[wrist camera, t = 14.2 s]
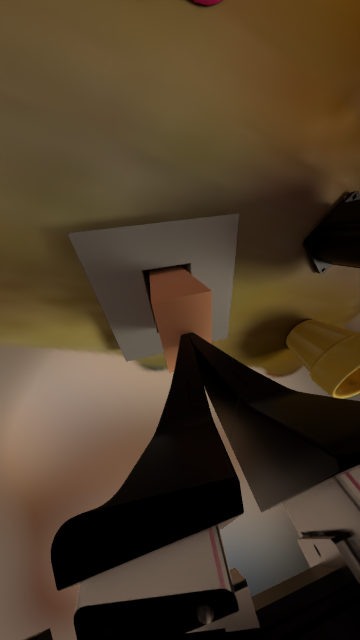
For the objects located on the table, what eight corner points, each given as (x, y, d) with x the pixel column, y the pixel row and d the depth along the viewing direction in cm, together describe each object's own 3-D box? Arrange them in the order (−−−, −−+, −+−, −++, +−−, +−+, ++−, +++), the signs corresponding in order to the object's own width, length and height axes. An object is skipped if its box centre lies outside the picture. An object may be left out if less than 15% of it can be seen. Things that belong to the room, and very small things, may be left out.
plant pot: (271, 331, 24) (336, 378, 16) (327, 298, 23) (428, 331, 15) (279, 361, 30) (331, 407, 22) (325, 335, 28) (398, 375, 20)
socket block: (225, 217, 14) (240, 212, 12) (219, 328, 21) (228, 338, 19) (80, 234, 12) (65, 233, 10) (128, 348, 20) (126, 362, 17)
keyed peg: (185, 311, 19) (211, 361, 11) (160, 317, 18) (169, 372, 11) (180, 265, 15) (211, 290, 8) (149, 270, 15) (151, 302, 7)
